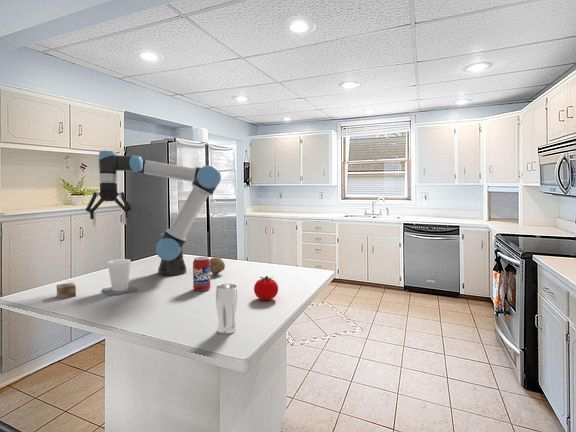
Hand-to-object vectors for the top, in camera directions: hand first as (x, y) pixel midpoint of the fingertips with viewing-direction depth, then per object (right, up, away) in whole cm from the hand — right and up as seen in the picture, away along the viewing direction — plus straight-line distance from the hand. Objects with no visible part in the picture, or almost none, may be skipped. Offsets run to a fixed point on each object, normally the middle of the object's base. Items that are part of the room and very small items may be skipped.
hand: (109, 225), depth 167 cm
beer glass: (+69, -34, -56) cm, 95 cm away
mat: (+12, -30, -13) cm, 35 cm away
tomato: (+80, -32, -24) cm, 89 cm away
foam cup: (+12, -29, -13) cm, 34 cm away
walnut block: (-7, -31, -22) cm, 38 cm away
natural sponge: (+50, -28, +17) cm, 60 cm away
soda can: (+49, -30, -10) cm, 58 cm away
